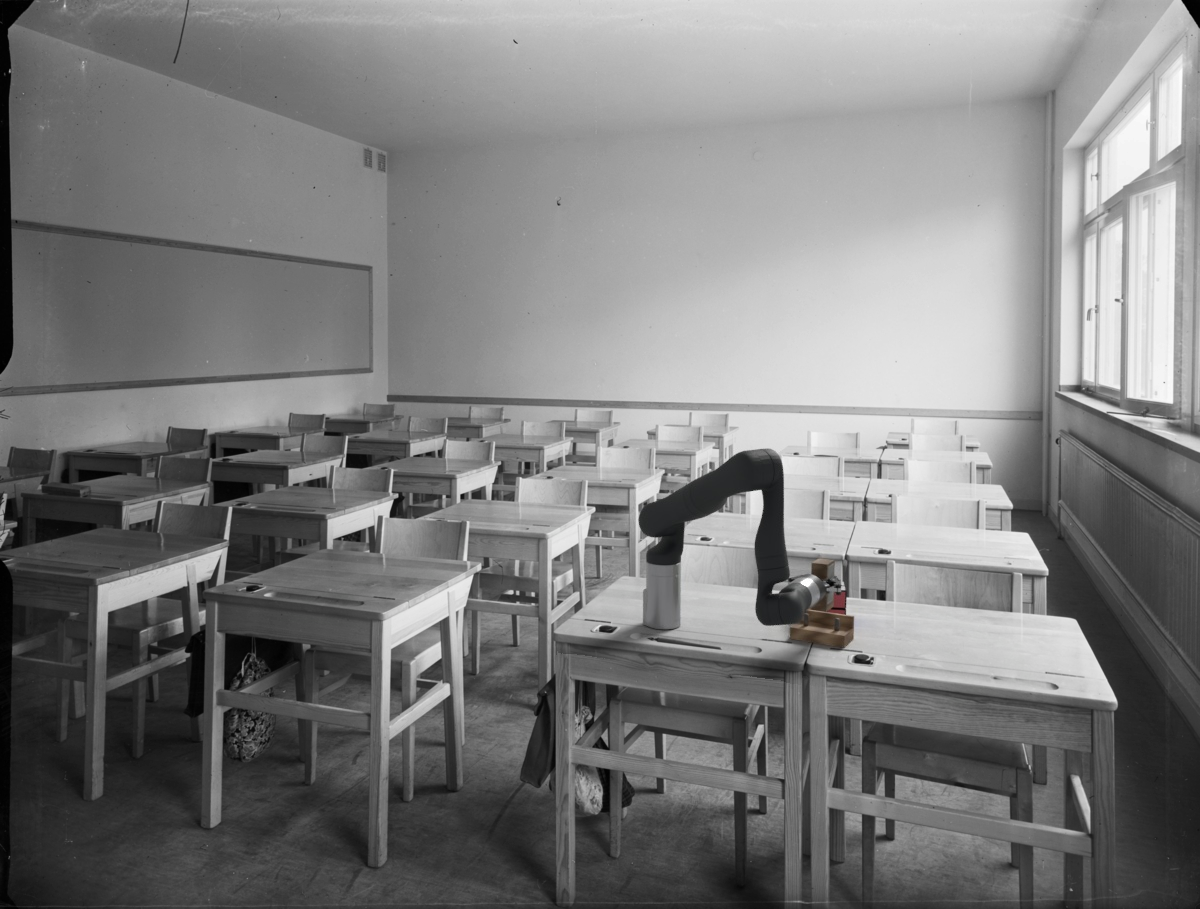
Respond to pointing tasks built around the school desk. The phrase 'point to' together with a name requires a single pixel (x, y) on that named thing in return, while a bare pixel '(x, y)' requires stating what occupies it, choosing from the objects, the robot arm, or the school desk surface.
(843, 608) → the puzzle cube
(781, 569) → the robot arm
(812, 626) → the wooden peg holder
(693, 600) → the school desk surface
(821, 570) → the wooden blocks
